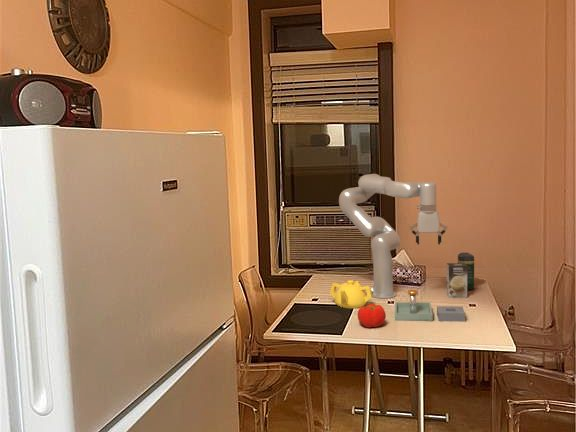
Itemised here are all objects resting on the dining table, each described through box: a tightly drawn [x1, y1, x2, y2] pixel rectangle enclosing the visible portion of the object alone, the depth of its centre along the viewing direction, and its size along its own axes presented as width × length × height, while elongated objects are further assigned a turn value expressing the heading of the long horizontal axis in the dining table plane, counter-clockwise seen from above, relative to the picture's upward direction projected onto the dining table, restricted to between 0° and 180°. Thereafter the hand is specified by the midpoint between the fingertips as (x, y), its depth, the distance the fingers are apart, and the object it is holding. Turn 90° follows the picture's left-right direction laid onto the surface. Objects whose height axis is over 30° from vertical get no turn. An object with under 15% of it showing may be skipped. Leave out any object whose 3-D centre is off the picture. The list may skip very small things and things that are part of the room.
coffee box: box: [446, 262, 468, 299], centre depth 299 cm, size 9×6×16 cm
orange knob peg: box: [407, 289, 419, 314], centre depth 272 cm, size 4×4×10 cm
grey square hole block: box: [436, 305, 466, 322], centre depth 265 cm, size 11×11×4 cm
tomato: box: [357, 303, 387, 328], centre depth 258 cm, size 13×12×8 cm
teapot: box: [329, 279, 373, 309], centre depth 292 cm, size 17×17×12 cm
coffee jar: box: [457, 252, 475, 291], centre depth 314 cm, size 10×8×19 cm
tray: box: [394, 301, 434, 322], centre depth 272 cm, size 16×19×3 cm
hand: (428, 244), depth 288 cm, fingers open, 9 cm apart
